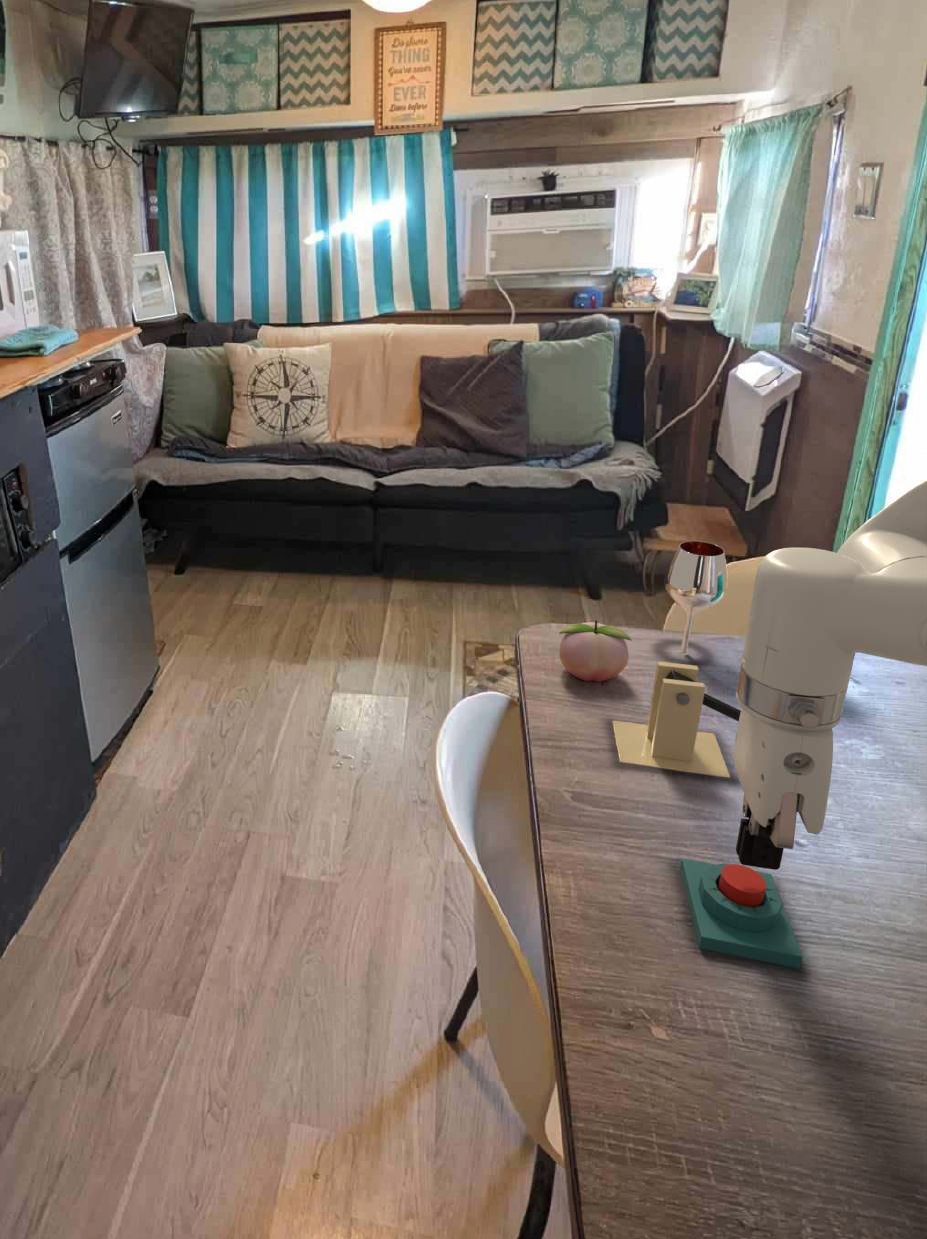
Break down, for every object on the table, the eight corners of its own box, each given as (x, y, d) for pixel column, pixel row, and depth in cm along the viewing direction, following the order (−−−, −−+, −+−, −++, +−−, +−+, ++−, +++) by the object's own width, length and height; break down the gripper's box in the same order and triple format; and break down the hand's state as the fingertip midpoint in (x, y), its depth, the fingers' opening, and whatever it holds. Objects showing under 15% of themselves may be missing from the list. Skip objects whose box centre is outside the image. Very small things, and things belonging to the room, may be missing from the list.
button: (757, 882, 78) (760, 867, 77) (767, 911, 75) (771, 896, 74) (715, 874, 79) (718, 860, 78) (723, 902, 76) (726, 888, 75)
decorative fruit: (615, 667, 121) (623, 607, 118) (629, 697, 114) (639, 635, 110) (549, 664, 123) (555, 605, 119) (559, 693, 115) (566, 631, 112)
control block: (767, 890, 81) (774, 859, 80) (797, 974, 72) (806, 941, 71) (678, 874, 84) (684, 844, 82) (697, 954, 75) (704, 921, 73)
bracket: (712, 741, 104) (728, 661, 100) (729, 785, 96) (747, 700, 92) (611, 727, 107) (622, 649, 103) (618, 769, 99) (631, 687, 95)
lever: (753, 723, 99) (765, 709, 98) (764, 747, 95) (777, 733, 94) (658, 677, 101) (669, 663, 100) (665, 699, 97) (676, 684, 96)
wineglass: (652, 640, 128) (669, 534, 121) (712, 649, 124) (732, 541, 118) (652, 665, 121) (670, 555, 115) (714, 676, 118) (736, 563, 111)
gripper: (876, 750, 61) (832, 933, 67) (812, 652, 74) (780, 813, 81) (762, 737, 63) (729, 916, 70) (719, 644, 77) (695, 802, 83)
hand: (756, 860), depth 75 cm, fingers closed
